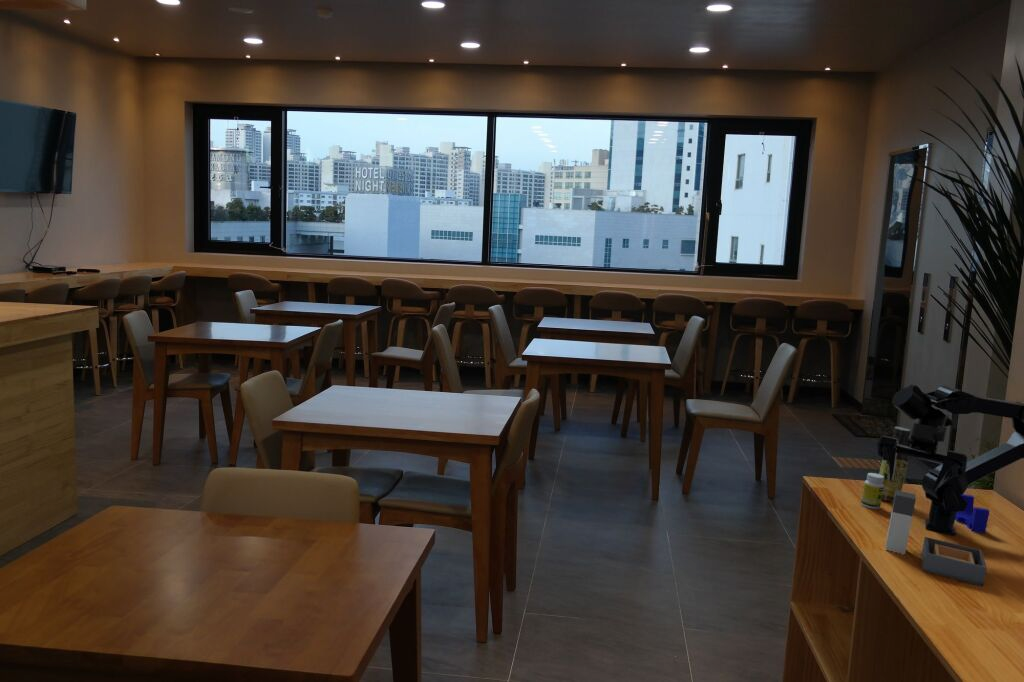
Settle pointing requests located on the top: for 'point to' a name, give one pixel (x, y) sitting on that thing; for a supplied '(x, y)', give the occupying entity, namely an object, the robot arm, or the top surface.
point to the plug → (900, 522)
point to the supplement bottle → (873, 491)
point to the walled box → (953, 561)
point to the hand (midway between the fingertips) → (912, 484)
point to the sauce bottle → (900, 467)
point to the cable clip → (973, 515)
